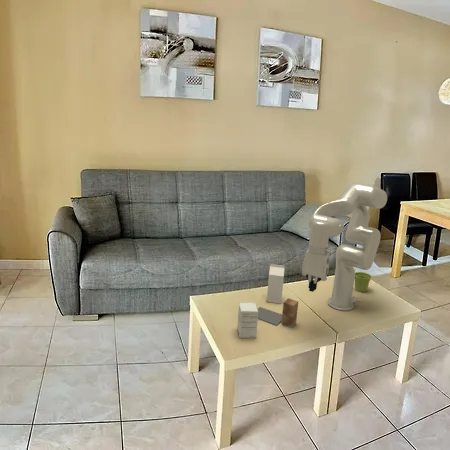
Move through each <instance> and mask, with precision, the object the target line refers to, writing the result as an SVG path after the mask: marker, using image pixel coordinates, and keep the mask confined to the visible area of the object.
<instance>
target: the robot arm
mask: <svg viewBox="0 0 450 450" xmlns="http://www.w3.org/2000/svg"><path fill="white" fill-rule="evenodd" d="M387 201H388V195H387V192H386V191H385V190H383V189H382V188H380V187H377V186H374V185H370V184H364V183H358V182H354V183H351V184H349V185H348V186H347V187H346V188H345V189H344V191H343V192H342V193H341V195H340V196H339V197H338V198H337V199H335V200H333V201H330V202H327V203H324V204H322V205H320V206H319V207H318V208H317V209H316V210H315V211H314V212H313V213H312V215H311V216H310V218H309V220H308V226H309V229H310V233H309V234H310V235H309V242H308V249H307V250H306V252H305V254H304V257H303V262H302V267H301V275H302V276H304V277H306V279H307V280H308V292H312V293H313V292H315V291H316V290H317V287H318V283H319V282H325V281H327V279H328V278H327V277H328V274H329V266H330V265H329V264H330V255H329V254H330V253H331V249H329V247H328V246H329V241H330V240H329V238H331V237H332V238H333V237H338V236H340V235H341V234H342V233H343V231H344V227H345V225H344V222H343V221H342V219H340V218H336V217H341V216H343V217H344V216H348V215H351V216H350V220H349V221H348V225H347V228H346V231H345V237H344V238H345V240H346V241H347V242H348V243H350V244H345V243H344V244H343V243H342V244H340V245H338V246H337V248H336V251H335V272H334V278H333V287H332V292H331V297H329V298H328V300H327V304H328V306H329V307H331V308H332V309H334V310H339V311H344V312H345V311H347V312H348V311H351V310H353V309H354V307H355V305H354V304H355V303H359V302H361V298H360V297H356V296H353V293H354V287H355V272H356V271H355V268H357V269H360V270H363V271H364V270H365V271H368V270H370V269H371V267H372V265H373V263H374V261H375V258H376V255H377V251H378V249H379V245H380V242H381V237H382V235H381V232H380V230H379V229H377V228H375V227H371V226H369V222H370V219H371V215H370V212H369V210H368V208H367V207H369V208H373V209H382V208H384V207H385V206H386V204H387ZM351 243H352V244H355V245H359V246H362V247H365V248H361V247H358V246H355V245H351Z"/></svg>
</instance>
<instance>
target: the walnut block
mask: <svg viewBox="0 0 450 450" xmlns="http://www.w3.org/2000/svg"><path fill="white" fill-rule="evenodd" d="M282 304H283V305H282V313H281V314H282V321H281V322H280V323H281V326H285V327H288V328H291V329H292V328H293V327H294V326H295V325H296V323H297V318H298V317H297V316H298V309H299V301H298V300H295V299H292V298H287V299H285V300H284V301H283V303H282Z"/></svg>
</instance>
